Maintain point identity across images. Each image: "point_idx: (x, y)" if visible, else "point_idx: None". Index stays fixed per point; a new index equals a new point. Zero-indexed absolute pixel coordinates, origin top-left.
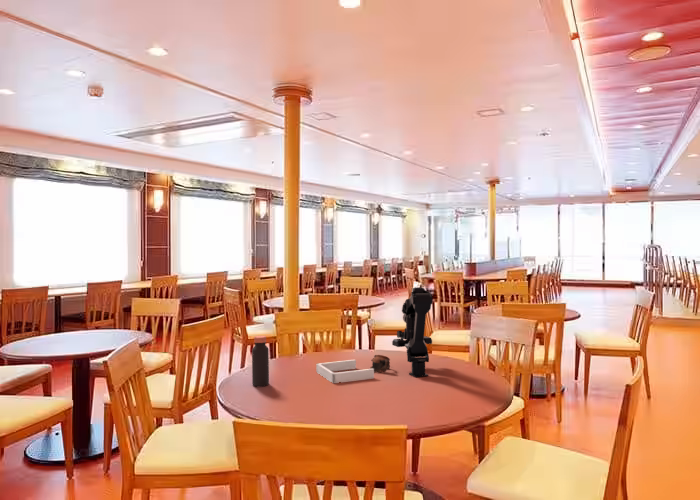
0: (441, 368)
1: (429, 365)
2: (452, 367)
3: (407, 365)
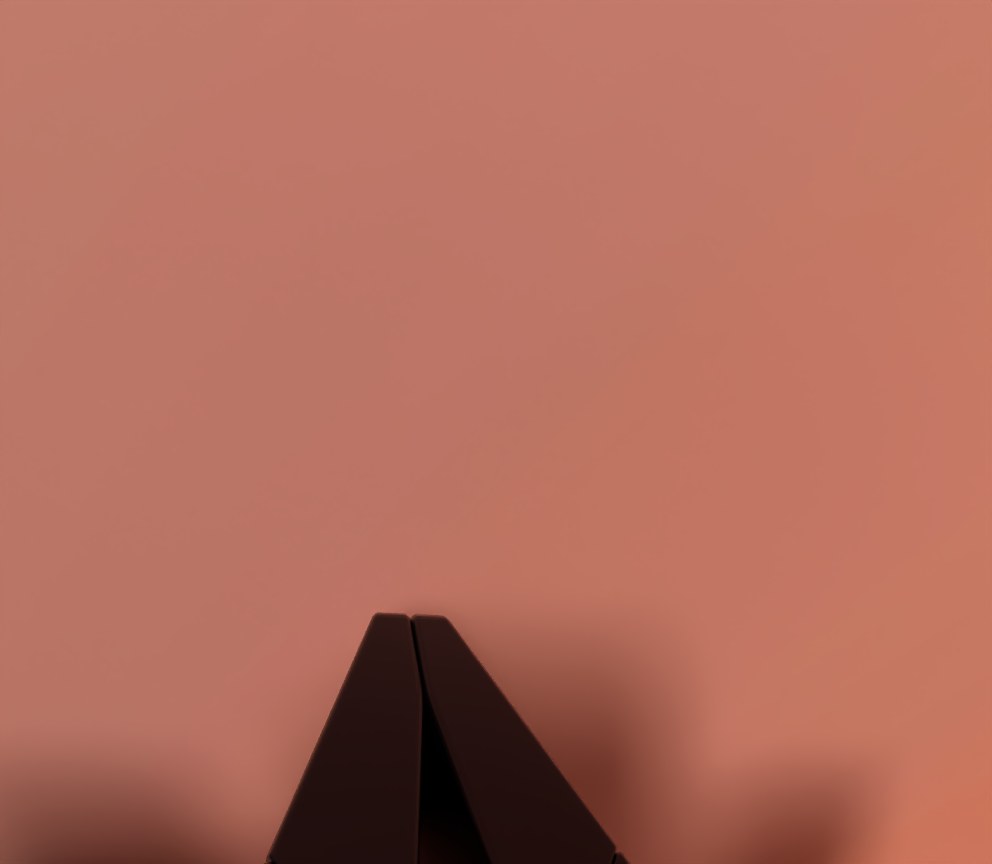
0: (800, 792)
1: (873, 536)
2: (984, 804)
3: (406, 203)
